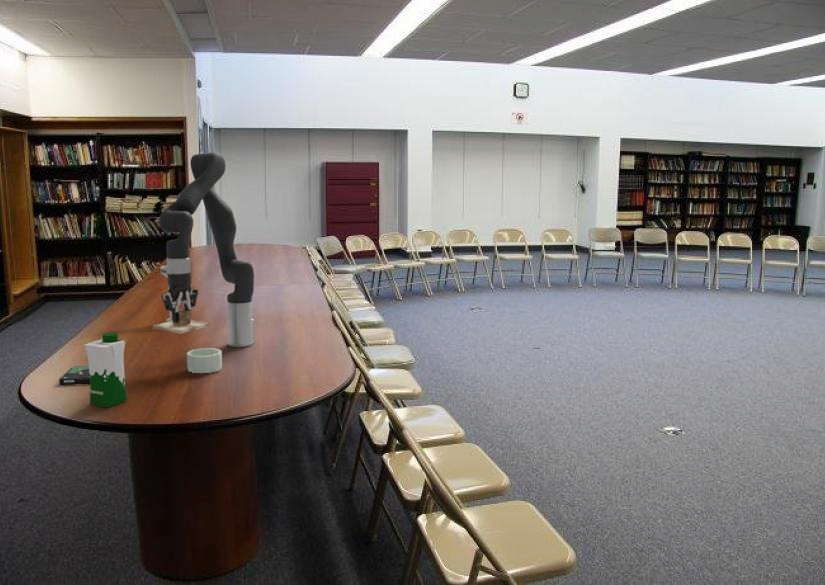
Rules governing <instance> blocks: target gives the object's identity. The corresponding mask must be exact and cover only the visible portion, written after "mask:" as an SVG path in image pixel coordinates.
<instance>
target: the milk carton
mask: <svg viewBox="0 0 825 585" xmlns="http://www.w3.org/2000/svg"><path fill="white" fill-rule="evenodd" d="M118 335H119V334H118V332H105V333H102V336H101V337H102V339H98V340H93V341H91V342H89V343H86V344H84V349H85V352H86V355H87V360H88V366H89V375H90V384H89V385H90V386H89V389H90V391H89V405H91V406H96V407H103V408H108V409H109V408H111V406H112V407H115V406H116V404H117V405H119V404H122V403H124V402H126V400H127V401H128V397H127V396H128V395H127V390H126V381H125V363H124V354H125V345H126V341H125V340H122V339H119V336H118ZM123 401H124V402H123ZM121 402H122V403H121ZM118 403H119V404H118Z"/></svg>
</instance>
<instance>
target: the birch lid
mask: <svg viewBox="0 0 825 585" xmlns="http://www.w3.org/2000/svg"><path fill="white" fill-rule="evenodd" d="M190 311H191V310H190ZM190 311H187V310H184V309H178V312H179V323H174V322H173V321H170V322H162V323H159V324H154V325H152V328H153V330H159V331H164V332H170V333H174V334H184V333H187V332H193V331H195V330H199V329H204V328H209V327H211V323H210V322H206V321H200V320H194V319H191V318H190Z"/></svg>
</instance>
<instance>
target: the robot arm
mask: <svg viewBox="0 0 825 585" xmlns="http://www.w3.org/2000/svg"><path fill="white" fill-rule="evenodd" d="M190 169H191V173H192V175H193V178H194V180H193V181H191V182H190V183H189V184H188V185H186V186H185V187H184V188H183V189H182V191H181V192H180V193H179V195H178V196H177V198H176V200H175V201H174V202H172V203H170V205H169V206H168V207H166V208H165V209H164V210H163V211H162V213H161V214H160V216H159V218H158V220H159V221H158V222H159V223H158V225H159V227H160V229H161V230H162V231H163V232H165V233H178V236H177V238H175V239H170V240H168V241H167V242H166V265H167V277H166V278H167V279H166V280H167V285H168V286H169V288H168V291H167V293H165V294H161V299H162V302H163V305H164V308H165V310H166V311H169V312H170V311H171V312H172V321H173V322H174V323H179V312H178V310H180V309H179V308H180V306H181V303H182V307H183V310H187V311H190V319H191V316H192V315H191V309H192V308H193V307H196V304H197V299H198V295H199V289H196V288H192V287H191V285H192V270H191V269H192V267H191V260H190V242H191V237H192V231H193V228H194V219H193V216H192V215H194V214H195V213H196V211H197V209H198V207H199V205H200V204H201V202H203V205H204V208H205V211H206V212H205V213H206V215H207V219H208V220H207V221H208V223H209V226H210V229H211V233H212V236H213V238H214V242H215V246H216V247H215V248H216V251H217V254H218V259H219V265H220V270H221V275H222V277H223V279H224V281H226V282H227V283H229V284H232V285H233V284H234V290H233V292H231V293H230V292H229V293H228V294H227V296H226V301H227V304H226V305H227V306H226V307H227V332H228V333H227V335H228V336H227V338H228V341H227V342H228V346H229V347H234V348H235V347H236V348H243V347H249V346H252V345H253V344H255V320H254V319H253V308H252V306H253V305H252V304H253V300H252V299H253V298H252V297H253V294H254V287H255V286H254V284H255V271H254V267H253V264H251V263H250V262H249V261H246V260H238V259H237V256H236V252H235V248H234V246H235V245H234V243H235V238H236V234H237V224H236V220H235V216H234V213H233V210H232V208H231V207H230V205H229V204H228V203H227V202H226V201H225V200H224V199H223V198H222V197H221V196H220V195H219V194H218V193H217V191H216V190H215V188H214V186H215V184H217V182H218V181H219V180H220V179H221V178H222V177H223V176H224V173H225V172H226V160H225V159H224V156H223V155H222V154H221V153H219V152H204V153H197V154H194V155H192V157H191V158H190ZM168 286H167V287H168ZM170 296H171V297H170ZM170 299H171V300H170Z"/></svg>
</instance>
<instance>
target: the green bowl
mask: <svg viewBox="0 0 825 585" xmlns="http://www.w3.org/2000/svg"><path fill="white" fill-rule="evenodd" d="M222 356H223V351H222V350H221V349H219V348H215V347H214V348H213V347H212V348H209V347H206V348H205V347H204V348H195V349H192V350H189V351H188V352H187V353H186V365H187V366H186V367H187V371H189V372H188V373H190V372H192V373H191V374H194V373H209V374H213V373H212V372H214V373H217V371H218V372H220V371H221V370H222V367H223V357H222ZM219 370H220V371H219Z"/></svg>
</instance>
